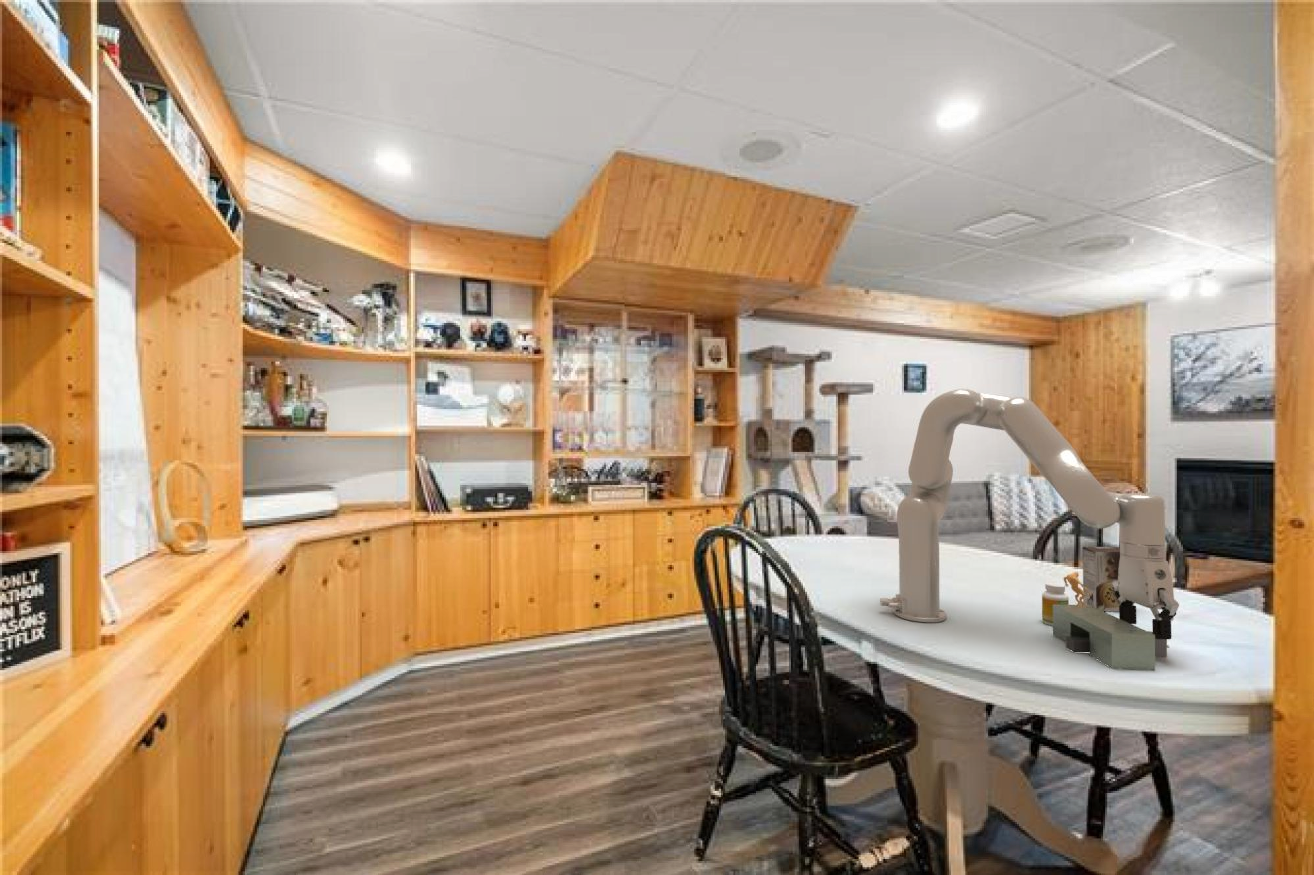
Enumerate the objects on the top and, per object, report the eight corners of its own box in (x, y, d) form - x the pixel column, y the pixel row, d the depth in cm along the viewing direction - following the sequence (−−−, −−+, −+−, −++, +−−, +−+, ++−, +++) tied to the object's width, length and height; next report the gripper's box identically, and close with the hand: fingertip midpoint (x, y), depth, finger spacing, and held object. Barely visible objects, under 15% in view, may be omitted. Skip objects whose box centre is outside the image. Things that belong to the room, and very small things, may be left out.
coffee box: (1118, 605, 156) (1118, 546, 156) (1134, 613, 150) (1134, 551, 150) (1081, 604, 158) (1081, 545, 158) (1095, 611, 151) (1095, 550, 151)
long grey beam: (1076, 654, 122) (1076, 635, 122) (1064, 646, 127) (1064, 628, 127) (1172, 657, 120) (1172, 638, 120) (1156, 649, 125) (1156, 631, 125)
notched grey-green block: (1111, 668, 115) (1111, 633, 115) (1052, 634, 134) (1052, 604, 134) (1155, 670, 114) (1154, 634, 114) (1089, 635, 134) (1089, 605, 134)
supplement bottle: (1060, 628, 138) (1060, 588, 138) (1037, 622, 143) (1037, 583, 143) (1073, 625, 141) (1073, 585, 141) (1049, 618, 146) (1049, 580, 146)
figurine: (1104, 624, 141) (1103, 575, 141) (1079, 624, 141) (1079, 575, 141) (1079, 614, 149) (1079, 568, 149) (1056, 614, 149) (1055, 568, 149)
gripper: (1195, 559, 114) (1197, 645, 114) (1132, 543, 131) (1133, 618, 131) (1154, 559, 115) (1156, 645, 115) (1096, 543, 132) (1098, 618, 132)
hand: (1144, 630), depth 123 cm, fingers open, 9 cm apart
